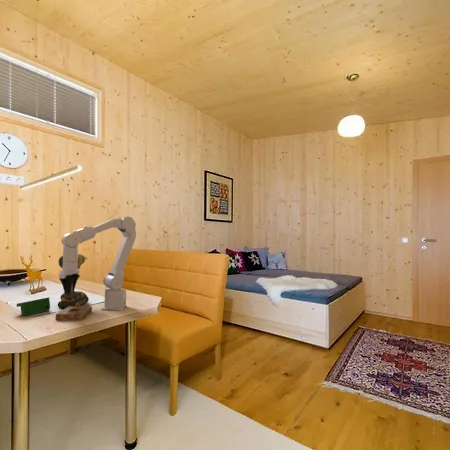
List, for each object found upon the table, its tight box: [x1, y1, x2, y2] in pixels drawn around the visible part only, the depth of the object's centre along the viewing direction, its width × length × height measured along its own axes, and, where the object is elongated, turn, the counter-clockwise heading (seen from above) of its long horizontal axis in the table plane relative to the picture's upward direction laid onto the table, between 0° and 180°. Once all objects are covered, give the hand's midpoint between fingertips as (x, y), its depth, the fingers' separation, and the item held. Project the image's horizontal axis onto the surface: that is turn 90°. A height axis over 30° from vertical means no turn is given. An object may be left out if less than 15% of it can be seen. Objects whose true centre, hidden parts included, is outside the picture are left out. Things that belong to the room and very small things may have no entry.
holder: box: [55, 305, 93, 321], centre depth 126 cm, size 10×12×2 cm
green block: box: [16, 297, 51, 317], centre depth 130 cm, size 12×6×9 cm, turn 147°
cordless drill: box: [57, 253, 89, 309], centre depth 145 cm, size 9×20×25 cm, turn 174°
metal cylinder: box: [65, 283, 73, 300], centre depth 127 cm, size 3×3×8 cm
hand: (69, 292), depth 127 cm, fingers closed on metal cylinder, 3 cm apart
